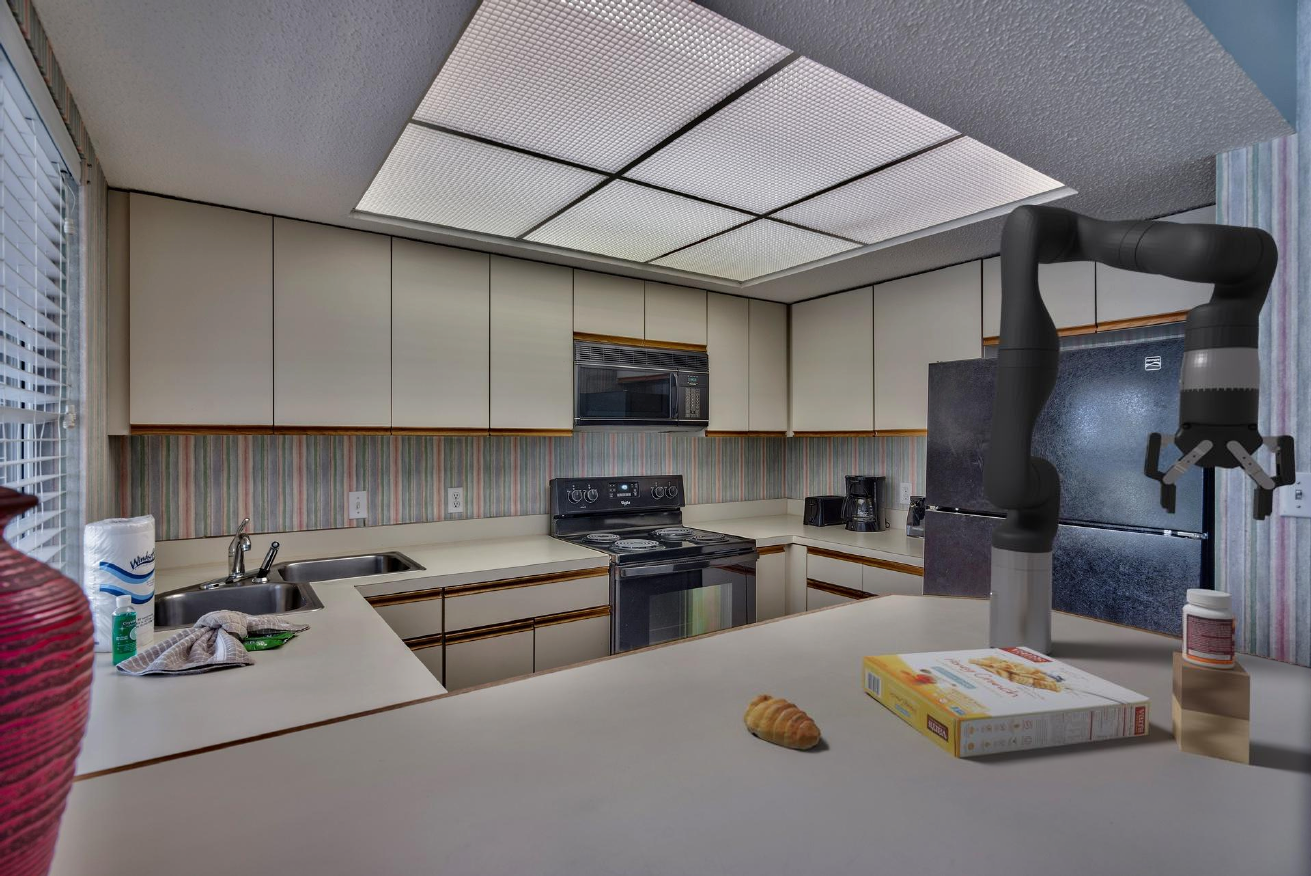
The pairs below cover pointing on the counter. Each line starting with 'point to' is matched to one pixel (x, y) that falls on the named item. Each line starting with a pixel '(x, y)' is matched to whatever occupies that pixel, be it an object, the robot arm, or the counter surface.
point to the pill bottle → (1208, 629)
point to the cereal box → (1002, 700)
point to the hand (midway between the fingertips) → (1213, 516)
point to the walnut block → (1211, 689)
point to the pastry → (781, 723)
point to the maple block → (1210, 734)
